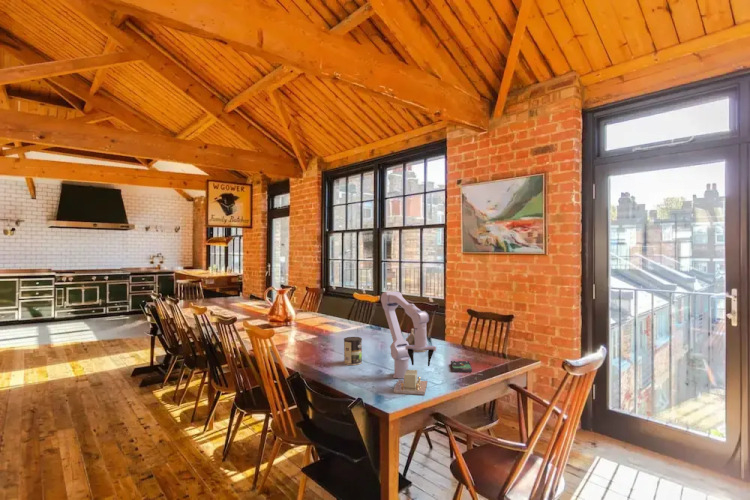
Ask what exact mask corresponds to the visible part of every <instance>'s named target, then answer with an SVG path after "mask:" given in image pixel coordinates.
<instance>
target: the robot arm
mask: <svg viewBox="0 0 750 500" xmlns="http://www.w3.org/2000/svg"><path fill="white" fill-rule="evenodd" d="M380 302H381V307H382V309H383V310H384V315H385V318H386V321H387V324H388V327H389V328H388V329H389V331H390V334H391V338H392V343H391V344H390V347H389V348H390V356H391V357H392V359H393V360H394V361H393V363H394V371H393V372H394V373H393V376H392V378H393V379H402V380H404V376H405V372H406V370H409V359H410V361H411V366H414V364H415V359H414V358H415V357H414V353H415V352H414V350H428V351H427V367H430V364H431V359H432V356H433V354H434V352H437V346H436V345H428V343H427V341H428V340H427V323H429V321H430V314H428V312H427V311H423V310H421V309H420V308H418V307H417V306H416V305H415V304H414V303H410V302H408V301H407V300H406V299H405V298H404V297H403V294H402V293H401V292H400V291H398V290H397V291H384V292H382V294H381V296H380ZM399 306H400V307H401V308H403V310H404V312H405V314H406V315H407V316H408V317H410V318H411V321H412V323H413V324H412V325H413V329H414V335H415V345H409V344H408V342H407V341H406V339H405V338H404V337H403V334H402V330H401V327H400V323H399V321H398V317H397V314H396V309H397V308H398V307H399Z"/></svg>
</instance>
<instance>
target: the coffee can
mask: <svg viewBox="0 0 750 500" xmlns="http://www.w3.org/2000/svg"><path fill="white" fill-rule="evenodd" d="M362 341H363V339H362V337H361V336H360V337H359V336H348V337H344V338H343V344H344V347H343V350H344V351H343V352H344V355H343V356H344V357H343V361H344V362H343V363H344V365H347V366H359V365H361V364H362V363H363V362H362V361H363V359H362V358H363V357H362V355H363V353H362V352H363V351H362V349H363V348H362V346H363V345H362Z"/></svg>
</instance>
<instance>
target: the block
mask: <svg viewBox="0 0 750 500" xmlns="http://www.w3.org/2000/svg"><path fill="white" fill-rule="evenodd" d="M417 381H418V370H417V369H408V370H406V372H405V388H416V383H417Z"/></svg>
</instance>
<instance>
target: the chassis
mask: <svg viewBox="0 0 750 500" xmlns="http://www.w3.org/2000/svg"><path fill="white" fill-rule="evenodd" d="M427 386H428V380H421V376H417V383H416V388H405V376H404V379H398V380H397V382H396V384H395V385H394V388H393V394H406V395H419V396H425V395H426V391H427Z"/></svg>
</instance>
